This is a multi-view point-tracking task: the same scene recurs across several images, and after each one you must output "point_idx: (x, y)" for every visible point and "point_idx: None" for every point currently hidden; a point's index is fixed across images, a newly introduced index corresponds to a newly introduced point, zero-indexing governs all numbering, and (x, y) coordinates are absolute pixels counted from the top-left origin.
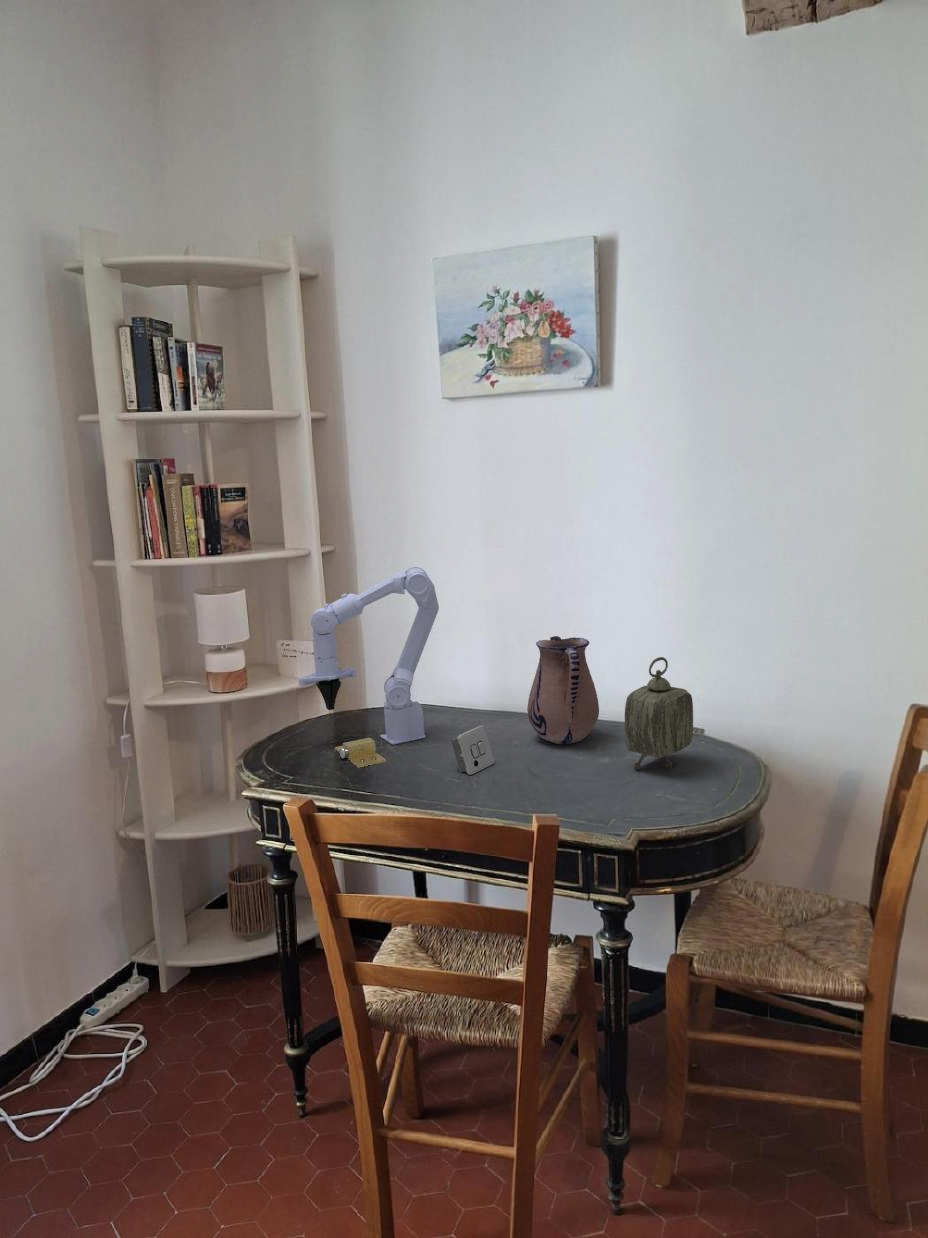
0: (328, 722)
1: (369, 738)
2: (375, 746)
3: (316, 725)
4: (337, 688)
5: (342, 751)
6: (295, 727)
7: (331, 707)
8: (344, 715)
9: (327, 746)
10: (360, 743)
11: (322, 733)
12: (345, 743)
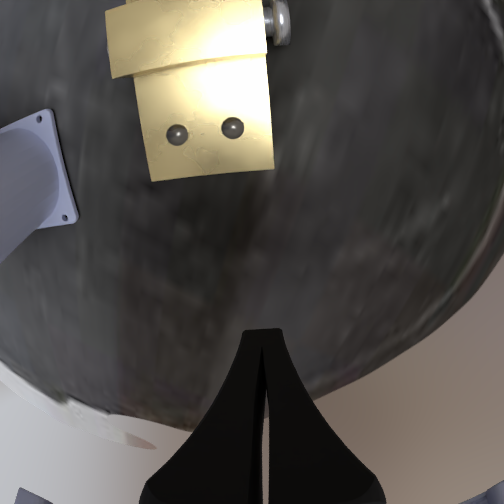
0: None
1: (115, 62)
2: None
3: None
4: (188, 465)
5: (286, 2)
6: None
7: (263, 339)
8: (174, 414)
9: (288, 222)
10: (179, 2)
11: None
12: (254, 37)
